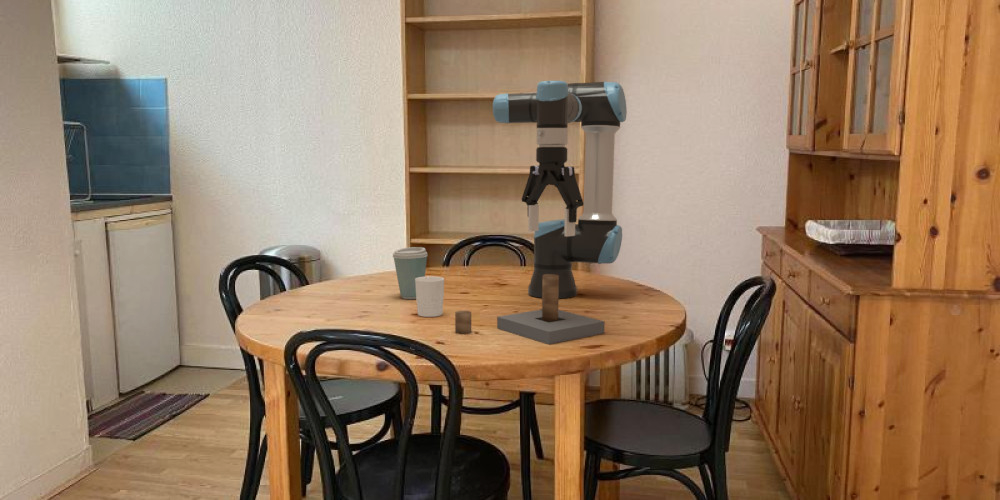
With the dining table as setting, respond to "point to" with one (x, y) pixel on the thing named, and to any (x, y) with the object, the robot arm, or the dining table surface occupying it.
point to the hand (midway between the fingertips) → (551, 233)
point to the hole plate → (550, 326)
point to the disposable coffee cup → (409, 269)
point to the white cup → (429, 296)
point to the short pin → (463, 322)
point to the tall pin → (550, 297)
